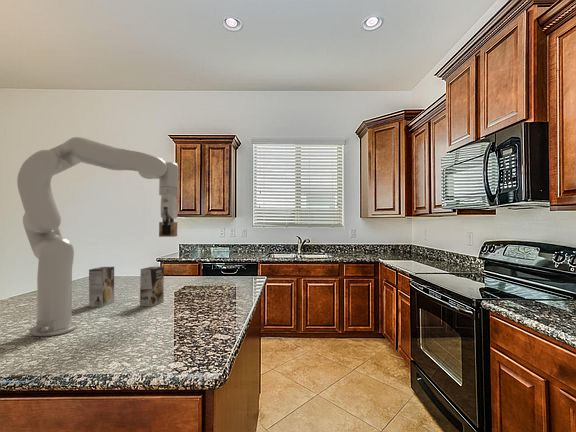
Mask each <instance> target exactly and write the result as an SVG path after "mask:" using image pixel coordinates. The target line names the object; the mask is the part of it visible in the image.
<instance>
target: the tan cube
mask: <svg viewBox="0 0 576 432" xmlns="http://www.w3.org/2000/svg"><path fill="white" fill-rule="evenodd" d="M170 225H171V229H170V235H162V221H159V223H158V237H159V238H161V237H162V238H163V237H164V238H166V237H167V238H168V237H170V238H172V237H173V238H174V237H178V221H174V222H170Z"/></svg>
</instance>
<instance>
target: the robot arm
mask: <svg viewBox="0 0 576 432" xmlns="http://www.w3.org/2000/svg"><path fill="white" fill-rule="evenodd" d="M80 163H81V164H82V163H83V164H87V165H91V166H94V167H100V168H103V169H107V170H111V171H133V172H137V173H138V174H139V176H140V177H141V178H143V179H147V180H157V179H158V180H159V183H158V184H159V185H158V187H159V188H158V193H159V194H158V195H159V196H161V197H160V217H161V220H162V221H161V222H162V235H170V229H171V225H170V222H175V220H176V219H178V201H177V197H178V196H179V166H178V164H177V163H176V162H169V161H165V160H163V158H160V157H159V156H155V155H151V154H148V153H146V152H141V151H135V150H131V149H125V148H119V147H118V148H117V147H114V146H111V145H107V144H104V143H100V142H97V141H94V140H91V139H88V138H84V137H78V136H73V137H71V138H69V139H68V140H65V142H63V143H61V144H59V145H57V146H55V147H52V148H50V149H42V150H38V151H36V152H34V153H33V154H31V155H30V156H29V157H28V158H26V159H25V160H24V162H23V163H22V164H21V166H20V168H19V171H18V173H17V177H16V179H17V180H16V182H17V184H16V185H17V190H18V194H19V196H20V201H21V203H22V207H23V210H24V214H23V215H22V225H23V228H24V231H25V234H26V236H27V239H28V242H29V245H30V248H31V250H32V253H33V255H34V256H35V257H36V258H37V260H38V265H37V276H36V277H37V278H36V281H37V284H36V286H37V288H36V289H37V292H36V293H37V294H36V295H37V296H36V325H35V326H33V327H31V328H30V329H29V331H28V332H29V333H30V334H31V336H35V337H50V336H58V335H62V334H65V333H69V332H72V331H74V330H75V329H76V328H77V327H78V325H77V322H75V321H72V310H73V309H72V308H73V307H72V305H73V302H72V301H73V300H72V299H73V286H72V285H73V278H72V277H73V263H74V256H75V255H74V254H75V252H74V246H73V244H72V242H71V241H70V240H69V239H68V238H66V237H63V236H62V233H61V230H60V228H59V227H60V226H61V223H62V218H61V214H60V212H59V209H58V206H57V203H56V200H55V198H54V194H53V191H52V186H51V182H52V178H53V177H54V176H55V175H58V174H60V173H62V172H64V171H67V170H68V169H71V168H72V167H75V166H76V165H78V164H80Z"/></svg>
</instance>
